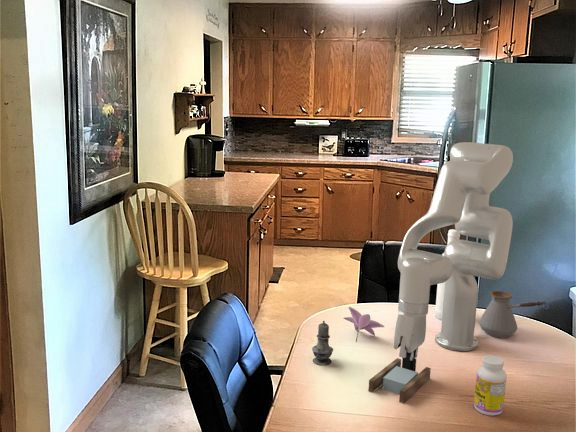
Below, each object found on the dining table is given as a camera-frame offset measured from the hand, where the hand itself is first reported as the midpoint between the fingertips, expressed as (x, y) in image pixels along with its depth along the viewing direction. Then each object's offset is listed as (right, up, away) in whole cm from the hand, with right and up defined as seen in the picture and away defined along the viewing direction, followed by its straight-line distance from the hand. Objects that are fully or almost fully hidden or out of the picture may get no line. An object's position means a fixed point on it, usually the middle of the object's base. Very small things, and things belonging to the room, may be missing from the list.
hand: (408, 371), depth 158 cm
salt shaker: (-22, +1, +9) cm, 24 cm away
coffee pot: (+37, +3, +28) cm, 46 cm away
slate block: (-3, -3, -4) cm, 6 cm away
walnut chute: (-3, -2, -4) cm, 5 cm away
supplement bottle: (+16, -5, -14) cm, 22 cm away
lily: (-9, +4, +26) cm, 27 cm away
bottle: (+21, +7, +43) cm, 49 cm away
